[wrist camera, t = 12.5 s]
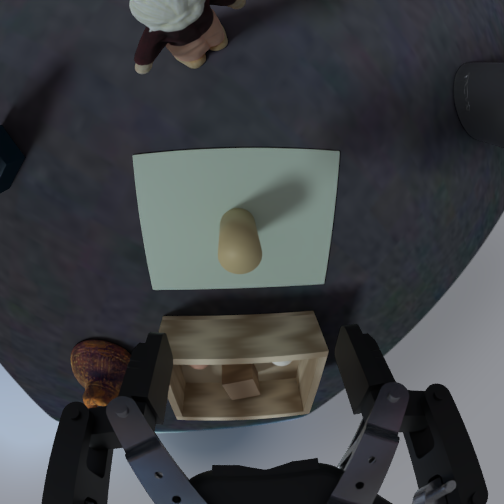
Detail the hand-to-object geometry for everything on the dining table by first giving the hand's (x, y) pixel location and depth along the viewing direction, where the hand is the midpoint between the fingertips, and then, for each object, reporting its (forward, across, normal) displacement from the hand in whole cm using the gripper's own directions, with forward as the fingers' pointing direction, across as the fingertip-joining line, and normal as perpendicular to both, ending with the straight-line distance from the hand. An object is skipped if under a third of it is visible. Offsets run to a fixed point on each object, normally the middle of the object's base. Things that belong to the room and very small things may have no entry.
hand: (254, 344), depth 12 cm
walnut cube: (+13, +1, +18) cm, 22 cm away
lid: (+14, +1, 0) cm, 14 cm away
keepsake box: (+13, +1, +16) cm, 21 cm away
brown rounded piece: (+13, +19, +19) cm, 30 cm away
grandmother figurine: (+14, +4, -15) cm, 21 cm away
